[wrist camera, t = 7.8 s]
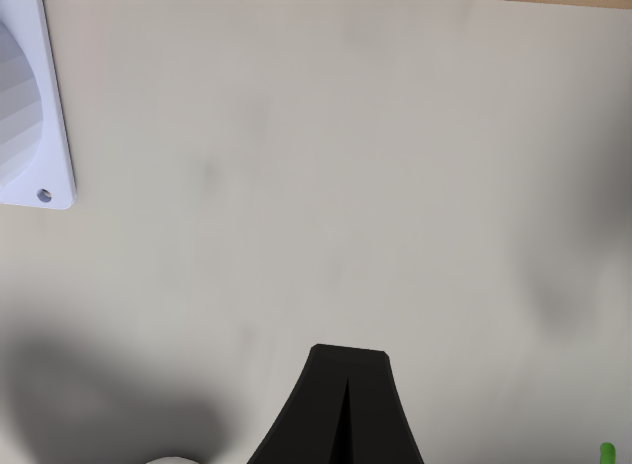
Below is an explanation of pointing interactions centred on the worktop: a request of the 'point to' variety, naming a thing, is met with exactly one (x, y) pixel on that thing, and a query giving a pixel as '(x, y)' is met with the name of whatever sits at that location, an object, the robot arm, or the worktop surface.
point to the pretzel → (172, 461)
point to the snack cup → (607, 454)
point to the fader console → (587, 3)
